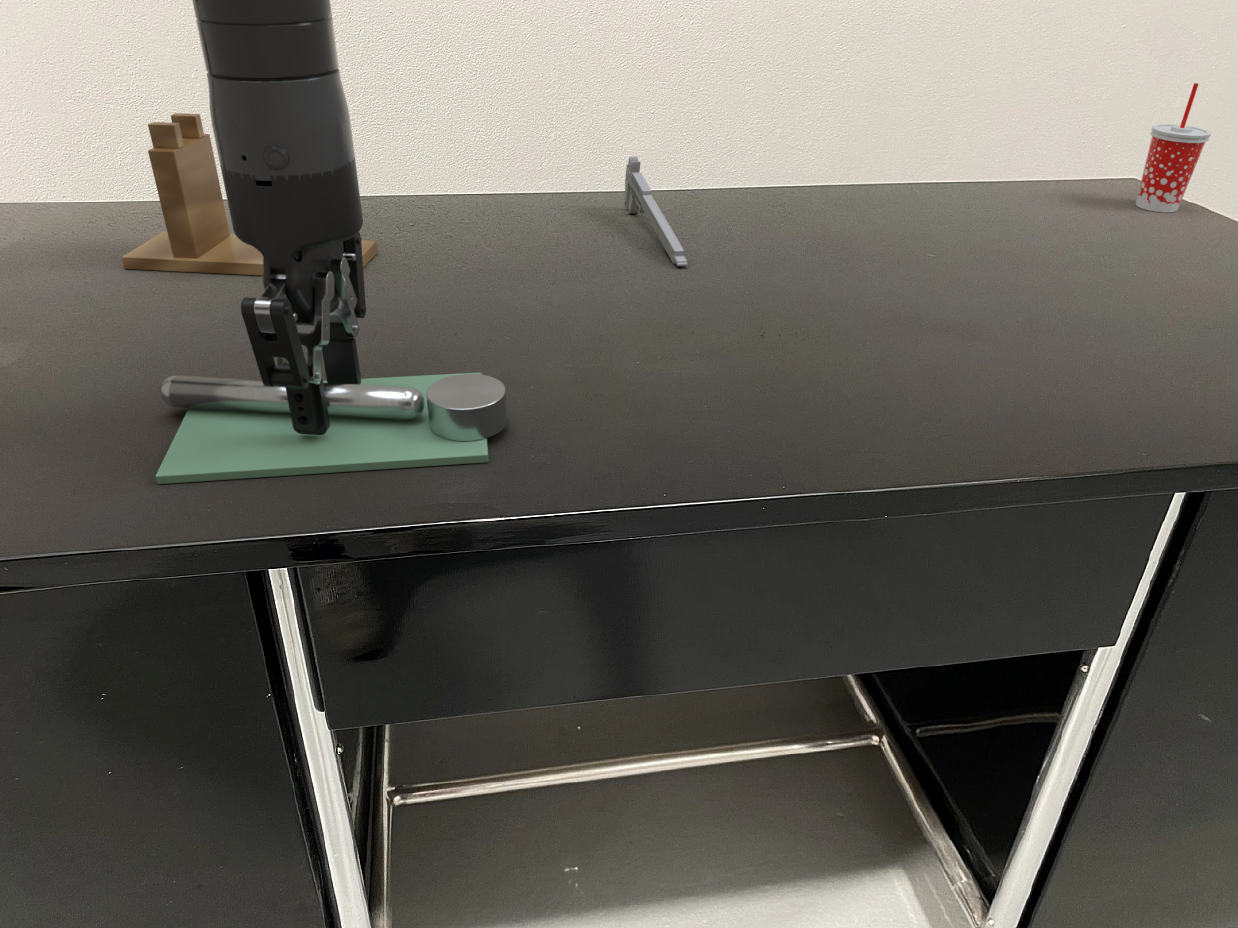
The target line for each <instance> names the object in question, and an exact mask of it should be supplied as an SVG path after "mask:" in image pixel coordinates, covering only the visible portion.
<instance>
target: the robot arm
mask: <svg viewBox="0 0 1238 928" xmlns="http://www.w3.org/2000/svg"><path fill="white" fill-rule="evenodd" d="M192 6H193V10H194V11H193V12H194V17H195V19H196V20H195V22H196V27H197V31H198V38H199V42H200V47H201V52H202V58H203V61H204V62H203V63H204V68H205V71H206V72H207V73H206V79H207V85H208V97H209V100H208V101H209V112H210V120H211V127H212V131H213V136H214V142H215V146H216V151H217V156H218V161H219V165H220V171H221V177H222V180H223V186H224V190H225V191H224V192H225V197H226V201H227V205H228V211H229V216H230V221H231V225H232V230H233V234H235V235H236V236H237V237H238V239H240V240H241V241H242V242H244V243H246V244H248V245H251V246H253V247H255V248H256V249H257V250H258V251H260V252H261V254H262V255H263V276H262V283H263V284H262V285H263V292H262V293H261V294H260V296H259V297H250V296H249V297H248V296H247V297H243V298H242V300H241V303H240V313H241V315H242V319H243V323H244V325H245V329H246V333H247V336H248V339H249V342H250V345H251V350H252V352H253V355H254V359H255V362H256V365H257V369H258V371H259V375H260V378H261V380H262V382H263V384H264V386H266V387H285V388H286V393H287V398H288V403H289V409H290V414H291V419H292V425H293V429H294V430H295V431H296V432H297V433H299V434H308V435H324V434H325V433H326V431H327V430H328V429H329V427H330V420H329V414H328V408H327V402H326V396H325V390H324V384H323V381H324V379H322V376H323V375H322V372H323V371H322V367H323V365H322V364H324V371H325V376H326V377H325V379H326V381H327V383H337V384H356V385H360V384H361V379H362V376H361V369H360V361H359V356H358V354H359V353H358V347H357V341H356V338H357V337H358V336H359V332H360V324H359V321H358V319H365V317H366V314H367V305H366V291H365V290H366V289H365V276H364V267H363V260H362V246H361V240H362V236H361V232H360V231H361V230H362V227H363V225H364V224H363V223H364V217H363V209H362V201H361V194H360V193H361V192H360V185H359V179H358V178H359V177H358V171H357V170H358V169H357V164H356V163H357V162H356V155H355V146H354V139H353V132H352V131H353V130H352V122H351V116H350V110H349V106H348V100H347V97H346V94H345V90H344V87H343V82H342V78H341V72H340V68H339V59H338V52H337V51H338V50H337V44H336V35H335V28H334V21H333V12H332V4H331V1H330V0H192ZM297 326H307V327H308V326H311V327H313V329H312V330H311V331H310V332H299V330H298V327H297ZM303 347H305V349H306V357H305V353H304V349H303ZM322 359H323V361H322ZM322 362H323V363H322Z"/></svg>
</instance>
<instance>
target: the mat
mask: <svg viewBox="0 0 1238 928" xmlns="http://www.w3.org/2000/svg"><path fill="white" fill-rule="evenodd" d="M459 374H460V373H446V374H445V373H443V374H424V375H407V376H406V375H405V376H387V377H385V376H384V377H370V378H361V384H360V385H376V386H396V387H411V388H415V389H417V390H418V391H419V392H421V394H422V395H423V397H424V399H425V409H424V411H423V413H422V414H421V415H420V416H419V417H418V418H416V419H413V420H397V419H378V418H360V417H341V416H329V420H330V427H329V429H328V430H327V431H326V433H325V434H324V435H308V434H299V433H297V432H296V431H295V430H294V429H293V425H292V419H291V414H285V413H266V412H247V411H228V410H210V409H191V408H187V410H186V413H185V415H184V417H183V419H182V421H181V423H180V425H179V427H178V429H177V431H176V433H175V436H174V437H173V439H172V441H171V443H170V445H169V448H168V450H167V452H166V453H165V456H164V457H163V460H162V462H161V464H160V466H159V468H158V470H157V471H156V473H155V480H156V484H157V485H165V484H166V485H168V484H181V483H182V484H183V483H197V482H198V483H199V482H214V481H226V480H227V481H228V480H242V479H259V478H271V477H272V478H273V477H274V478H275V477H287V476H303V475H318V474H334V473H348V472H361V471H362V472H364V471H365V472H366V471H378V470H392V469H407V468H408V469H409V468H422V467H437V466H439V467H440V466H451V465H452V466H453V465H454V466H455V465H470V464H483V463H484V464H485V463H489V449H488V438H485V439H481V440H476V441H453V440H448V439H444V438H441V437H439V436H437V435H436V434H435V433H433V432H432V430H431V429H430V426H429V417H428V408H427V399H426V392H427V389H428V388H429V387H430V386H431V385H432V384H433V383H434V382H436V381H438V380H440V379H443V378H445V377H449V376H453V375H459ZM461 374H481V375H483V373H482V372H465V373H461ZM323 383H327V380H323Z"/></svg>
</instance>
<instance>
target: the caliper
mask: <svg viewBox="0 0 1238 928" xmlns="http://www.w3.org/2000/svg"><path fill="white" fill-rule="evenodd" d="M640 169H641V161H639V157H638V156H628V163H627V164H626V169H625V179H624V208H625V209H628V213H627V214H628V215H638V213H640V214H644V215H645V216H646V218H647V220H648V222H649V223H650V226H651V227H652V229H653V231H654V232H655V235H656V236H657V238H658V239H659V241H660V243H661V245H662V247H663V249H664V250H665V252H666V254H667V256H668V257H669V260H670V261H671V263H672V264H673V265H676V266H677V267H683V266H688V260H687V258H686V256H685V249H684V248H683V246H682V244H681V242H680V241H679V239H678V237H677V235H676V234H675V233H674V230H673V229H672V227H671V225H670V223H669V222H668V220H667V219H666V217H665V215H664V214H663V212H662V211H661V209H660V207H659V205H658V204H657V202H656V200H655V199H654V197H653V195H652V189H651V187H650V186H649V184H648V182H647V181H646V179H645V177H644V175H643V173H642V172H640Z"/></svg>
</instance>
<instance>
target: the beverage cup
mask: <svg viewBox="0 0 1238 928" xmlns="http://www.w3.org/2000/svg"><path fill="white" fill-rule="evenodd" d="M1198 88H1199V83H1198V82H1194V83H1193V86H1192V89H1191V92H1190V95H1189V98H1188V101H1187V104H1186V107H1185V110H1184V113H1183V116H1182V120H1181V121H1180V124H1171V123H1170V124H1167V123H1162V124H1161V123H1160V124H1155V125H1152V126H1151V132H1150V133H1149V134H1150V135H1151V138H1150V143H1149V147H1148V151H1147V156H1146V160H1145V163H1144V167H1143V172H1142V176H1141V179H1140V184H1139V188H1138V193H1137V196H1136V200H1135V206H1136V207H1138V208H1139V209H1142V210H1146V211H1150V212H1156V213H1176V212H1177V211H1178V210H1179V208H1180V206H1181V203H1182V200H1183V198H1184V196H1185V193H1186V190H1187V189H1188V186H1189V183H1190V181H1191V179H1192V176H1193V174H1194V171H1195V168H1196V166H1197V164H1198V162H1199V159H1200V156H1201V155H1202V152H1203V149H1204V147H1205V144H1206V143H1207V142H1209V139H1210V137H1211V135H1212V133H1211V131H1209V130H1207V129H1205V128H1201V127H1197V126H1190V125H1186V124H1187V121H1188V118H1189V115H1190V111H1191V109H1192V105H1193V103H1194V99H1195V97H1196V93H1197V91H1198Z"/></svg>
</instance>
